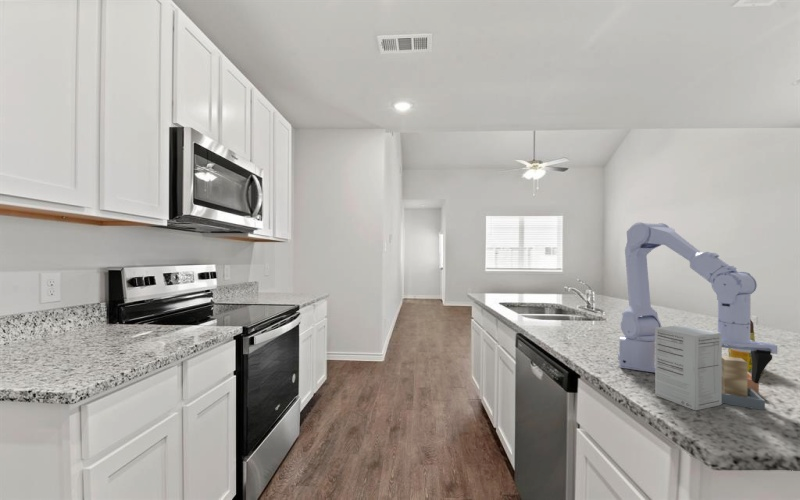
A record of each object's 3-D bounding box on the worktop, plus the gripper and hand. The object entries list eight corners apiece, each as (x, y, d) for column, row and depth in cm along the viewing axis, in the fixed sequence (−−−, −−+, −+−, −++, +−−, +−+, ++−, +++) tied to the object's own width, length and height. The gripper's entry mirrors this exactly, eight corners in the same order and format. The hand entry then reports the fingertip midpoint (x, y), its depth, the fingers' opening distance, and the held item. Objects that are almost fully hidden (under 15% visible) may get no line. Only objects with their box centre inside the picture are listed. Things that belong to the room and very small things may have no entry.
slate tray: (714, 401, 84) (714, 392, 84) (705, 389, 91) (706, 381, 91) (764, 410, 80) (764, 400, 80) (751, 396, 87) (751, 388, 87)
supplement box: (680, 390, 91) (680, 324, 91) (723, 405, 82) (723, 332, 82) (653, 395, 88) (653, 326, 88) (695, 411, 79) (695, 335, 79)
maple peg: (724, 397, 85) (724, 359, 85) (719, 392, 88) (719, 355, 88) (747, 401, 83) (747, 362, 83) (741, 395, 86) (741, 358, 86)
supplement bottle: (733, 367, 109) (733, 336, 109) (757, 372, 105) (758, 340, 105) (728, 370, 106) (728, 338, 107) (752, 376, 102) (752, 342, 102)
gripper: (698, 321, 86) (698, 378, 86) (783, 328, 78) (782, 390, 78) (692, 317, 92) (692, 369, 92) (770, 323, 85) (770, 380, 84)
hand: (733, 378), depth 86 cm, fingers open, 7 cm apart
